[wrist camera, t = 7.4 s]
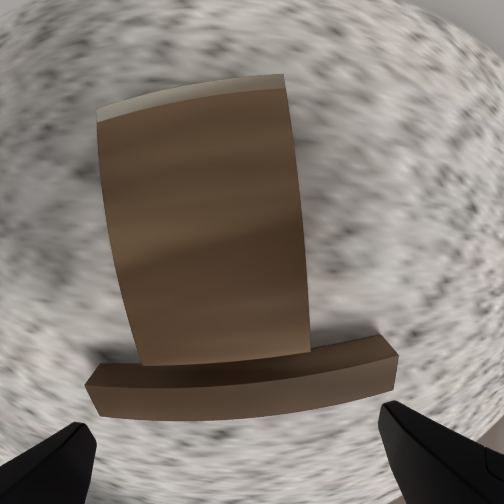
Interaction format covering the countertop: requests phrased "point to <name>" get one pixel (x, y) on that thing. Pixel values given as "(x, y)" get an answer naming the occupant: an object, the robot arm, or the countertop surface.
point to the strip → (245, 384)
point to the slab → (207, 221)
